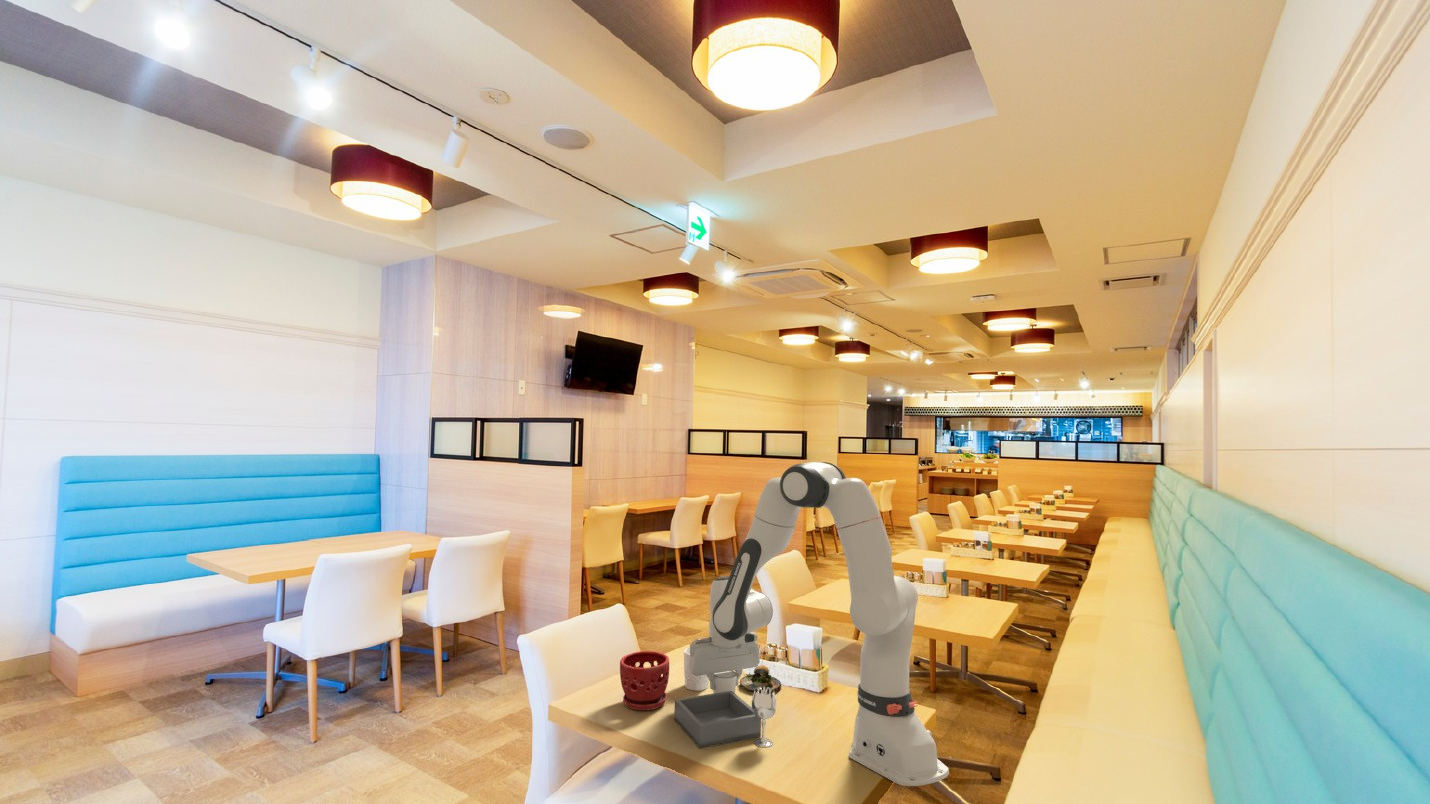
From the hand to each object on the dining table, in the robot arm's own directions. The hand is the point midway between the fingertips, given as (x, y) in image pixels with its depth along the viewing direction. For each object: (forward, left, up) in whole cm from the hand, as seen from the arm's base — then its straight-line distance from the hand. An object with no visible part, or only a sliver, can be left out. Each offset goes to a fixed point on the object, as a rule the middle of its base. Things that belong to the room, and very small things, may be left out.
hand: (724, 687), depth 177 cm
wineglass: (-26, +2, -4) cm, 26 cm away
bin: (-15, +9, -3) cm, 18 cm away
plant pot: (+5, +21, -4) cm, 22 cm away
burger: (+4, -14, -4) cm, 15 cm away
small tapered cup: (0, 0, -4) cm, 4 cm away
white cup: (+11, +3, -4) cm, 12 cm away
